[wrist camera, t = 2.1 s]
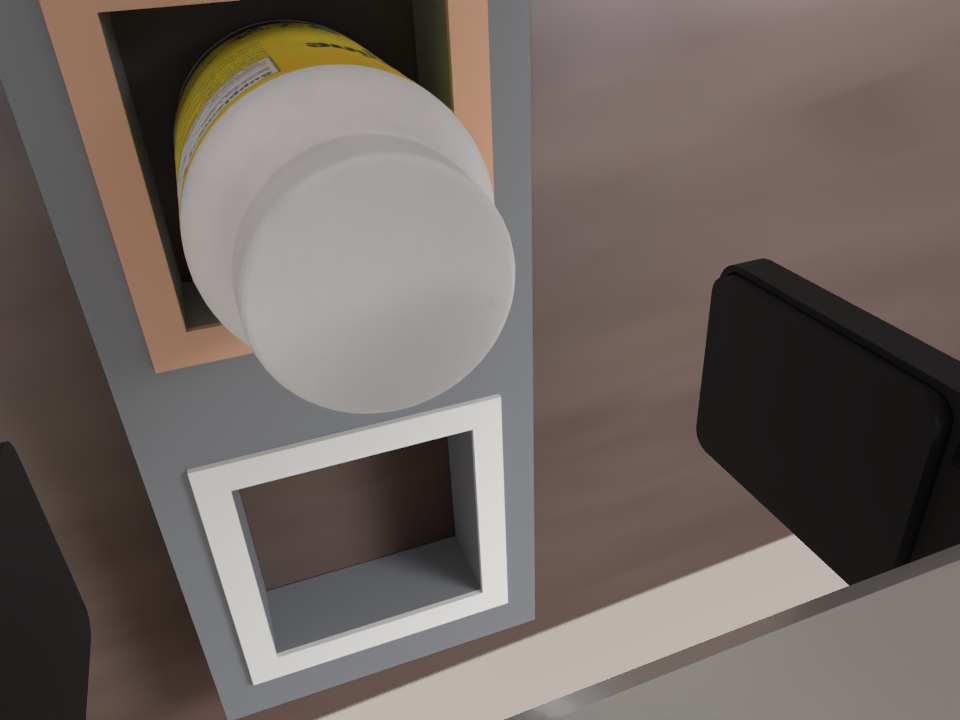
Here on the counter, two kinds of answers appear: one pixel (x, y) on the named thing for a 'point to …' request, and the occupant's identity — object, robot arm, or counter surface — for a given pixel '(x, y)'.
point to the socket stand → (257, 395)
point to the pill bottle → (338, 218)
